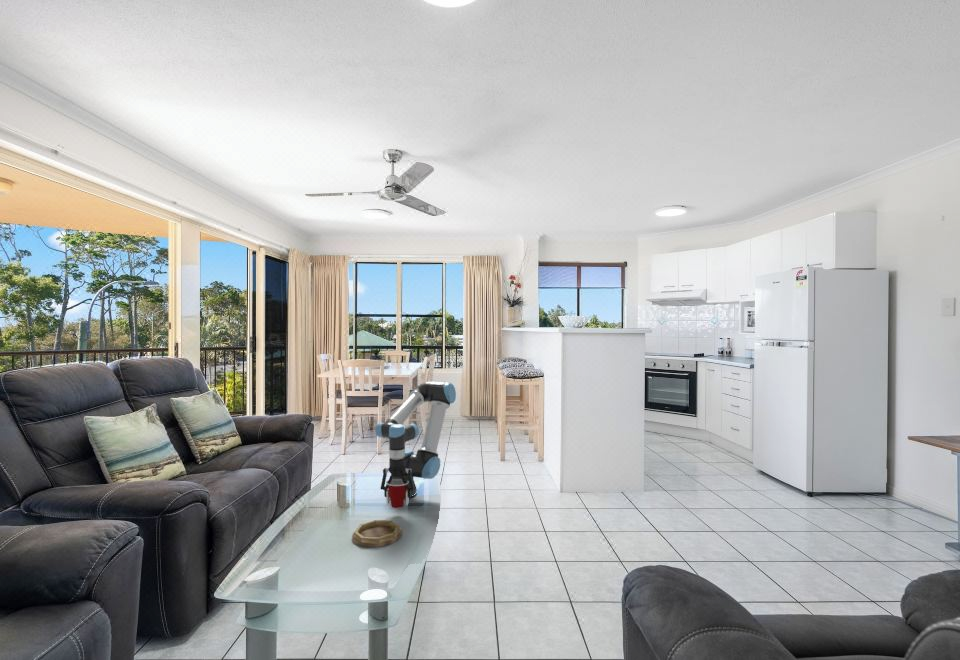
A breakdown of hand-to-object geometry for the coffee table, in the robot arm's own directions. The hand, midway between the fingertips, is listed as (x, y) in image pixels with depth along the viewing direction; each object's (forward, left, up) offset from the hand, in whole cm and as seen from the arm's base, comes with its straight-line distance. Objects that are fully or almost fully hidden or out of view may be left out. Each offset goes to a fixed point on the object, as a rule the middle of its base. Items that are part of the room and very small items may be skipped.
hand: (397, 503), depth 216 cm
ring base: (+18, +14, -5) cm, 24 cm away
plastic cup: (0, 0, -1) cm, 1 cm away
